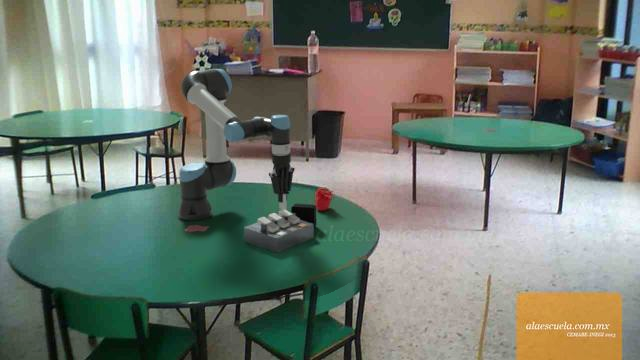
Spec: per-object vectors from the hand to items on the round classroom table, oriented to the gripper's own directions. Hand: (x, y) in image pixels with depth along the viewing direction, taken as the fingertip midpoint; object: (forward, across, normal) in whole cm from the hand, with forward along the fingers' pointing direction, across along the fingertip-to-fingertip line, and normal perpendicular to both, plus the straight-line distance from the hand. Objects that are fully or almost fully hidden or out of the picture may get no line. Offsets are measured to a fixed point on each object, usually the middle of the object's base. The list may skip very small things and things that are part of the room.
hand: (282, 208), depth 259 cm
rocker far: (+3, 0, -3) cm, 4 cm away
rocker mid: (+3, -6, -3) cm, 7 cm away
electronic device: (+11, +10, -2) cm, 15 cm away
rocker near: (+3, -12, -3) cm, 13 cm away
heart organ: (+11, +34, +8) cm, 37 cm away
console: (+11, -6, -3) cm, 13 cm away
